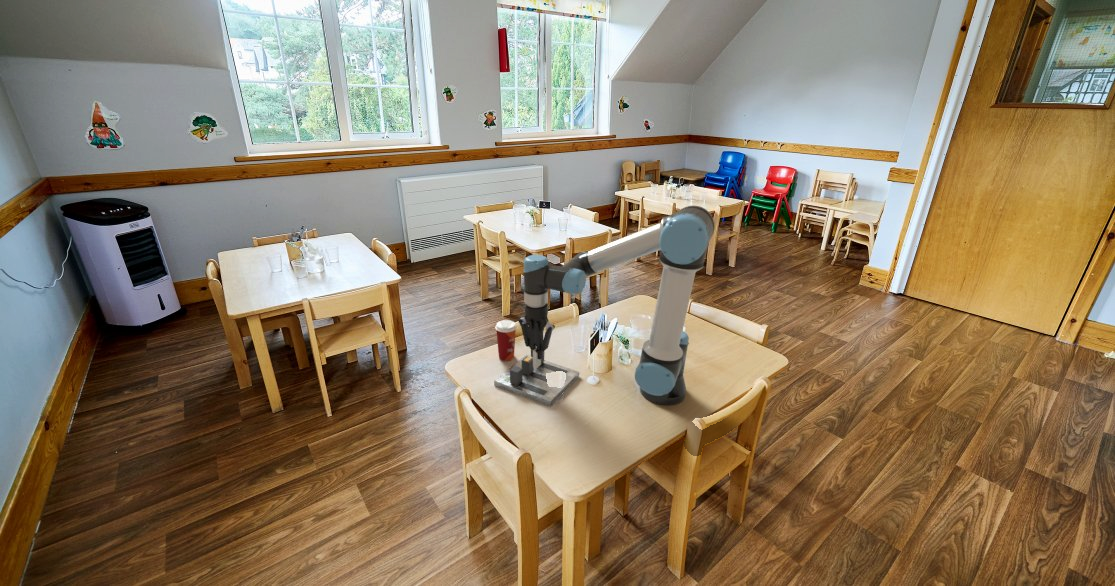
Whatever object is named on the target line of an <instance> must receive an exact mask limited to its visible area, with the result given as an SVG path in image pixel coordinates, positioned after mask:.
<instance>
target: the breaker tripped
mask: <svg viewBox="0 0 1115 586" xmlns="http://www.w3.org/2000/svg"><path fill="white" fill-rule="evenodd" d="M522 368H523V373H524V374H527V375H530V374H531V373H532V372H533V371H534V367H533V358H530V357H527V356H526V357H525V358H524V359H523V360H522Z"/></svg>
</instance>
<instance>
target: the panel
mask: <svg viewBox="0 0 1115 586" xmlns="http://www.w3.org/2000/svg"><path fill="white" fill-rule="evenodd" d="M526 356H527V357H530V358H533V357H531V354H528V353H526V354H525V355H523V357H521V358H520V359H519V360H518V361H516V362H515V363H514V364H513V365H511V366H510V367H509V368H508V369H507V370H505V371H504V372H503V373H502V374H501V375H499V376H498V377H497V378H495V379H494V380H493V381H494V382H493V383H494V386H495V387H497V388H500V389H502V390H505V391H507V392H510V393H512V394H515V395H518V396H520V397H523V398H526V399H529V400H531V401H534V402H537V403H539V404H542V405H544V406H547V407H550V408H551V407H552V406H553V405H554V404H555V403H556V402H557V401H558V400H559V399H560V397H561V396H562V395H563V394H564V393H565V392H566V391H567V390H568V389H569V388H570V387H571V386H572V384H574V383H575V382H576V381H577V380H578V378H580V371H579V370H575V369H573V368H568V367H566V366H563V365H560V364H558V363H554V362H551V361H547V360H545V359H544V363H542V364H541V365H540V366H539V367H538V368H534V371H533V372H532V373H531V374H530V375H527V374H524V373H523V381H522V382H521V383H520V384H519V385H515V384H512V383H510V370H511V369H512V368H513V367H514V366H517V367H520V368H522V360H523V359H524V358H525V357H526ZM556 371H563V372H565V373H566V380H565V383H564V386H563V387H562V388H557V387H549V386H548V384H547V379H546V373H551V372H556ZM563 392H564V393H563ZM562 393H563V394H562Z"/></svg>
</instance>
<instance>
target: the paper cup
mask: <svg viewBox="0 0 1115 586" xmlns="http://www.w3.org/2000/svg"><path fill="white" fill-rule="evenodd" d="M494 328H495V331H496V341H497V352H498V358H499V360H500V361H502V362H510V361H512V360H514V358H515V348H516V347H515V346H516V331H517V330H516V329H517V325H516V323H515V321H513V320H510V319H503V320H500V321H498V322H496V325H495V327H494Z"/></svg>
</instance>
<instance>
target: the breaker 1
mask: <svg viewBox="0 0 1115 586" xmlns="http://www.w3.org/2000/svg"><path fill="white" fill-rule="evenodd" d="M522 381H523V368H520V367H517V366H514V367H513V368H512V369H511V370H510V383H512V384H515V385H519V384H520V383H521V382H522Z"/></svg>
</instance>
